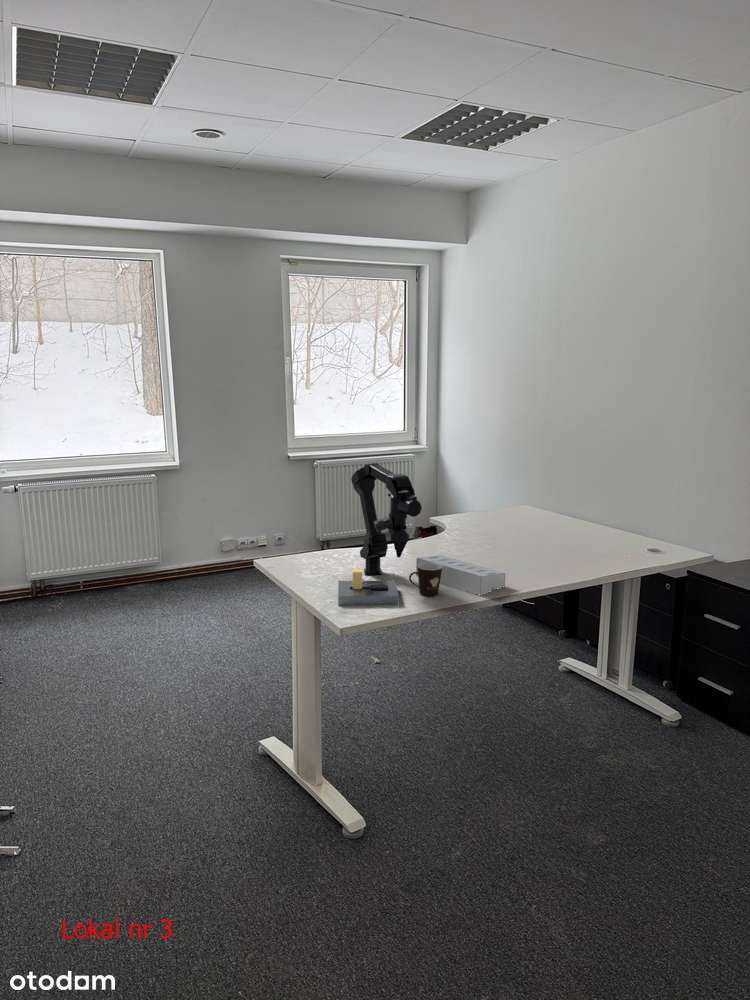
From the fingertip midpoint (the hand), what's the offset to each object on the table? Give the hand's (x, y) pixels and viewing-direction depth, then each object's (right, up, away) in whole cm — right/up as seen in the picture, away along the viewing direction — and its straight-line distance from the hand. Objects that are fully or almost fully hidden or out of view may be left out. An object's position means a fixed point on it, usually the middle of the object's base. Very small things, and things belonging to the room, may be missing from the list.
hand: (397, 553), depth 249 cm
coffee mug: (+9, -14, -6) cm, 18 cm away
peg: (-14, -14, -10) cm, 22 cm away
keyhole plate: (-11, -14, -10) cm, 20 cm away
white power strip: (+23, -12, +8) cm, 27 cm away
